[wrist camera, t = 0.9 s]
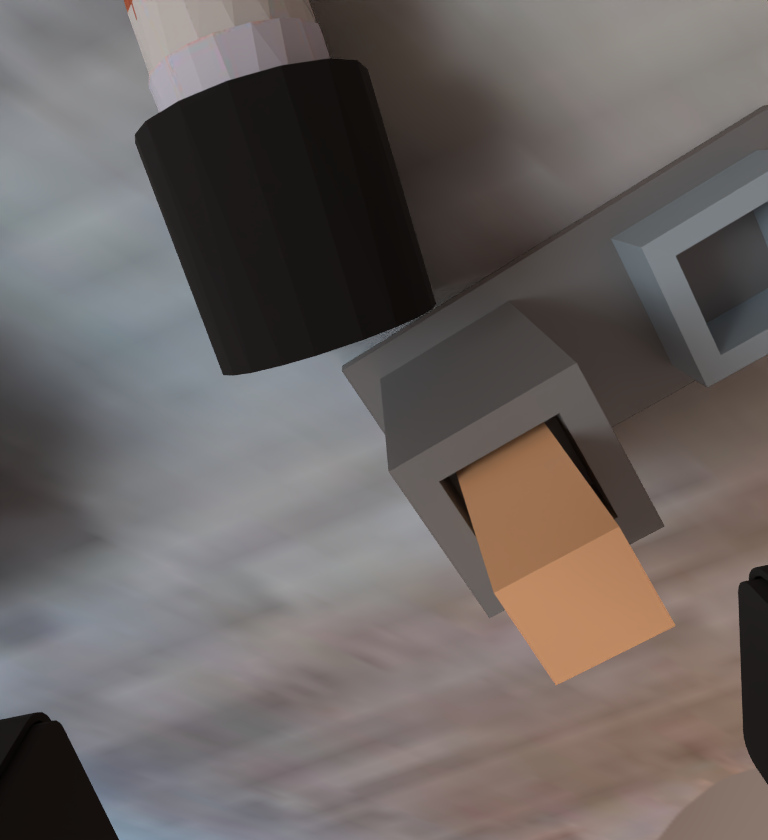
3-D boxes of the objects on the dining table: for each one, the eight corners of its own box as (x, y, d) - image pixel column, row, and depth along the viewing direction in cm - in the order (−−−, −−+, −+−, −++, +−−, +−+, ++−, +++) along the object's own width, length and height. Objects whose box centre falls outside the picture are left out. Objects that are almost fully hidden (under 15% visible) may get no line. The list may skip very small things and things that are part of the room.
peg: (533, 407, 28) (619, 526, 19) (575, 480, 30) (675, 625, 20) (450, 454, 29) (493, 593, 20) (495, 524, 30) (555, 685, 21)
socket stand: (763, 105, 34) (990, 72, 22) (833, 293, 37) (1064, 354, 25) (342, 365, 38) (334, 460, 26) (441, 513, 41) (475, 658, 29)
